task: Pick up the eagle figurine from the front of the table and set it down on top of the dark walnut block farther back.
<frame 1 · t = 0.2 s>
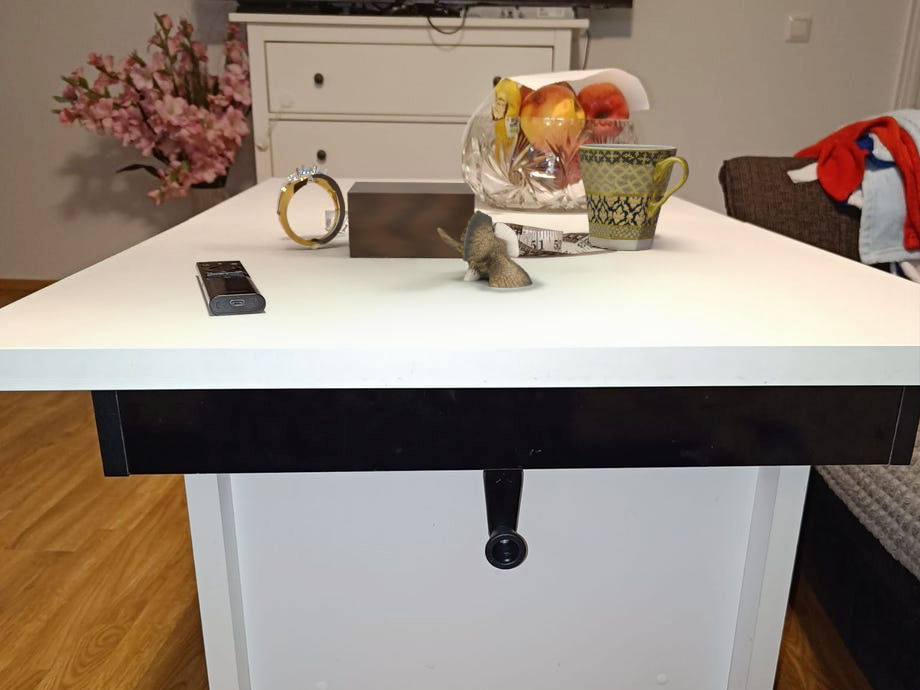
ring: (313, 250, 94), on the table
eagle figurine: (486, 296, 73), on the table
walnut block: (412, 248, 95), on the table
ceramic cup: (631, 249, 98), on the table
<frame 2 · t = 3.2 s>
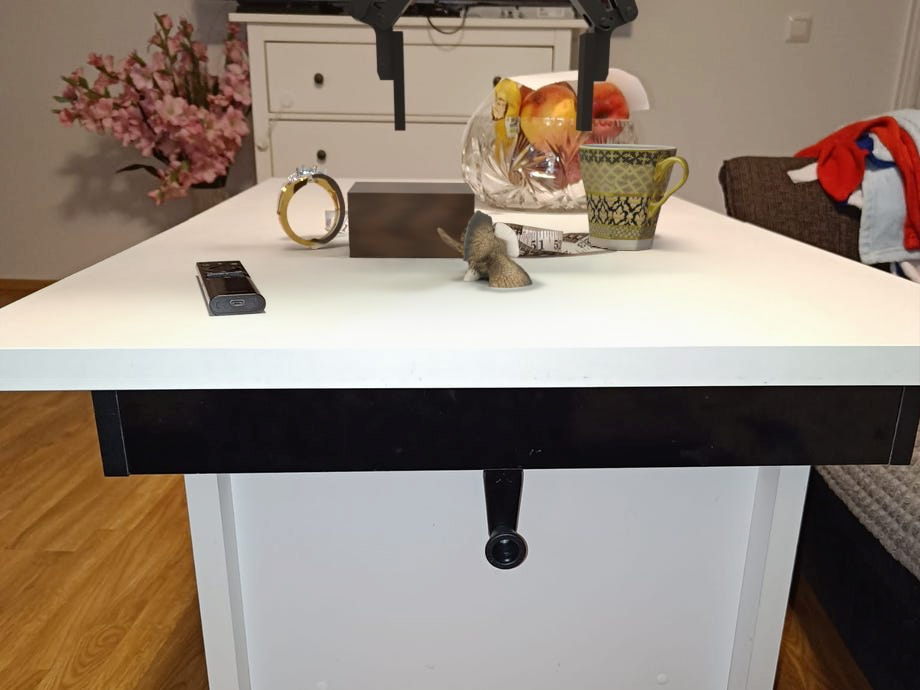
hand: (492, 131, 69), 12 cm above the table, tool pointing down, fingers open, 13 cm apart
nothing on the table moved.
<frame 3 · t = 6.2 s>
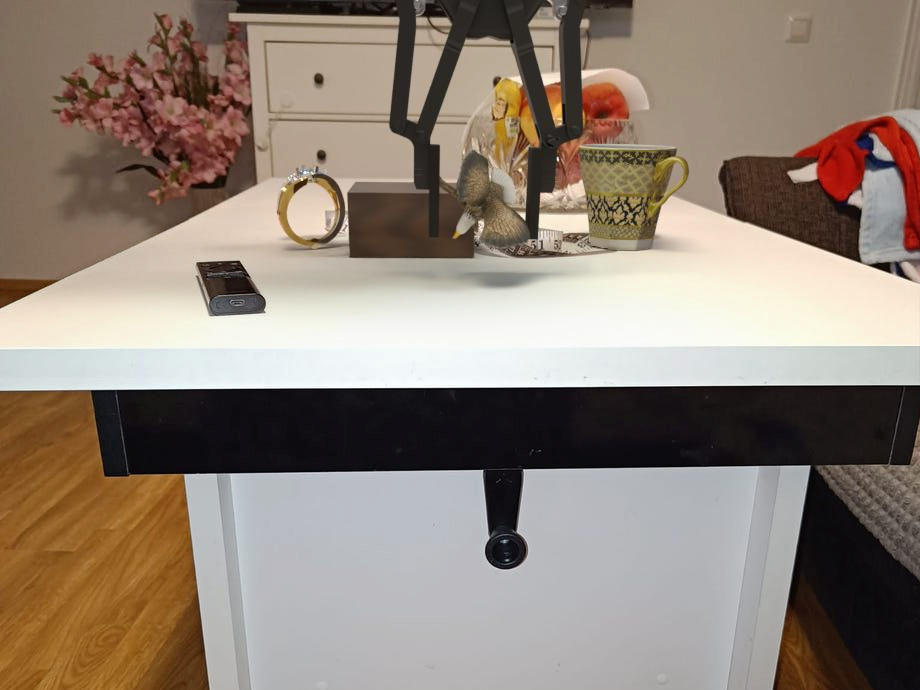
hand: (482, 235, 72), 5 cm above the table, tool pointing down, fingers closed on eagle figurine, 7 cm apart
eagle figurine: (481, 242, 72), point 4 cm above the table, touching gripper
everything else where it was.
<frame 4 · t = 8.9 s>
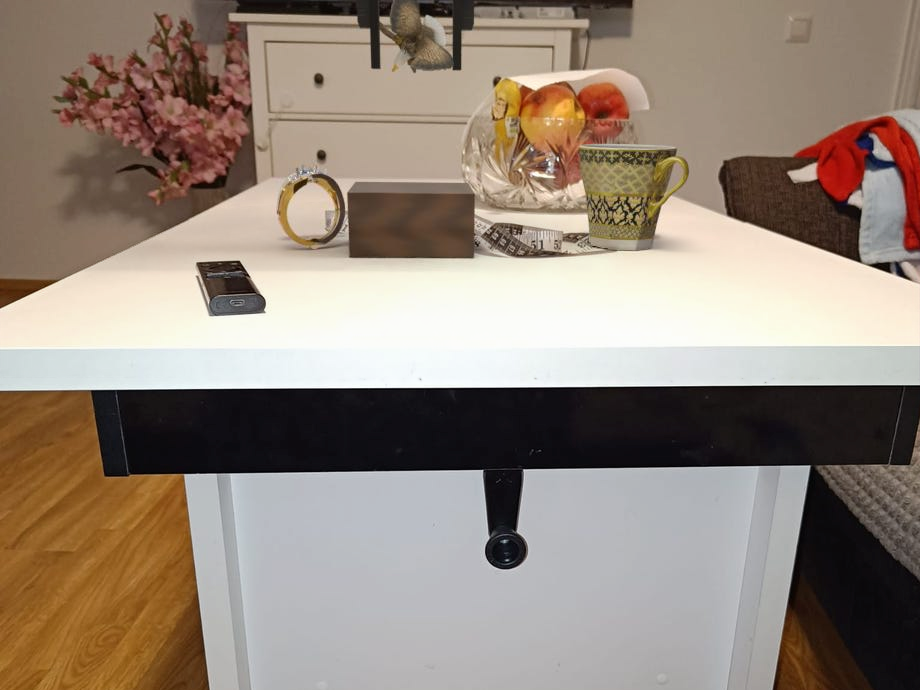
hand: (416, 68, 87), 17 cm above the table, tool pointing down, fingers closed on eagle figurine, 7 cm apart
eagle figurine: (415, 74, 87), point 16 cm above the table, touching gripper
everything else where it was.
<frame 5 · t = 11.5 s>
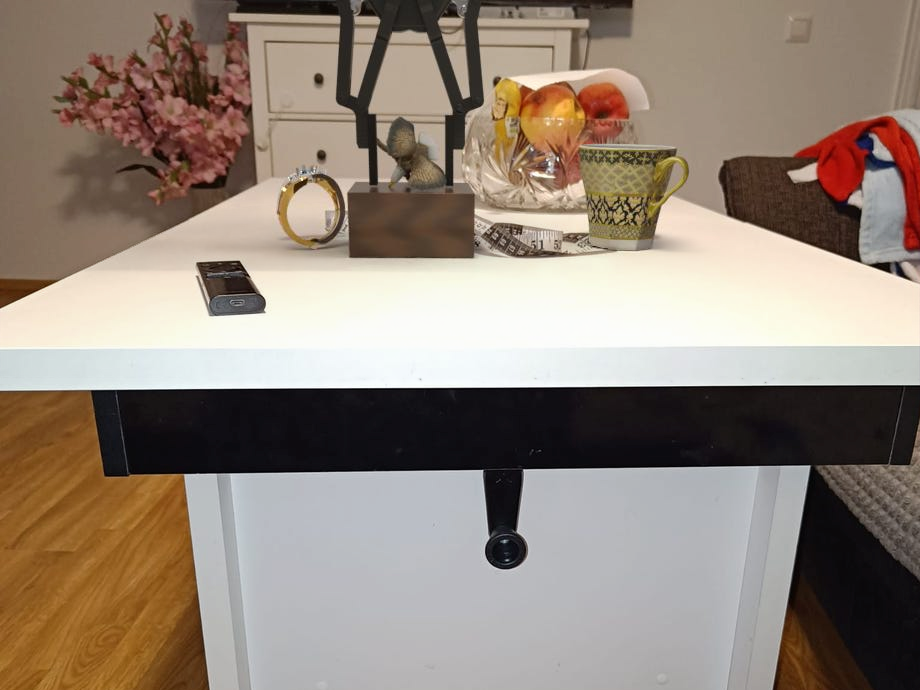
hand: (411, 184, 93), 6 cm above the table, tool pointing down, fingers closed on eagle figurine, 7 cm apart
eagle figurine: (410, 189, 93), point 6 cm above the table, touching gripper, walnut block
everything else where it was.
when the fingers open (6 cm above the table, at t = 11.6 s): eagle figurine stays where it is, resting on walnut block.
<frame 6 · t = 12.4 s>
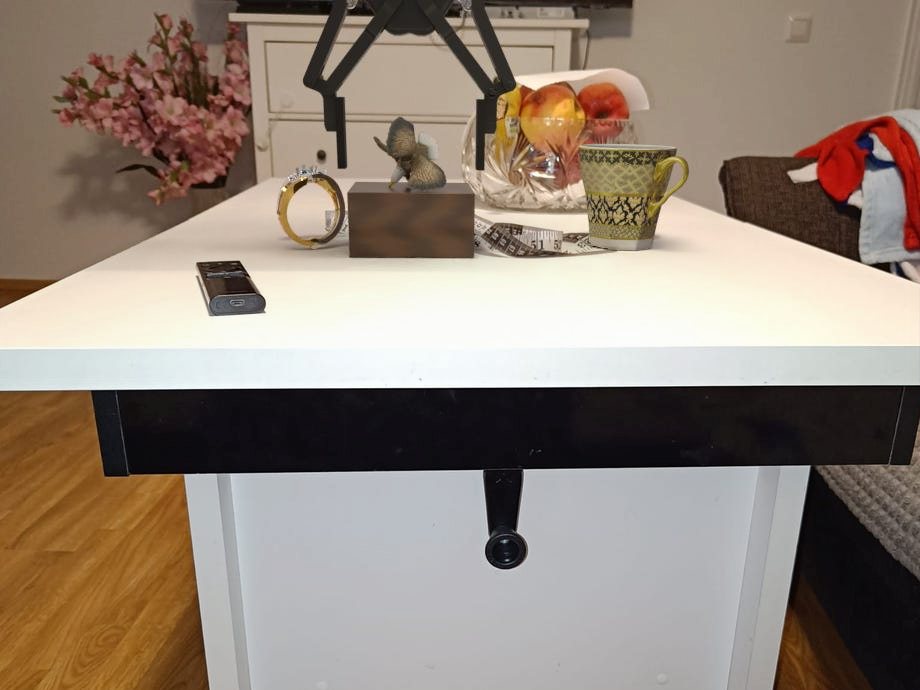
hand: (411, 169, 92), 8 cm above the table, tool pointing down, fingers open, 13 cm apart
eagle figurine: (410, 189, 93), point 6 cm above the table, touching walnut block
everything else where it was.
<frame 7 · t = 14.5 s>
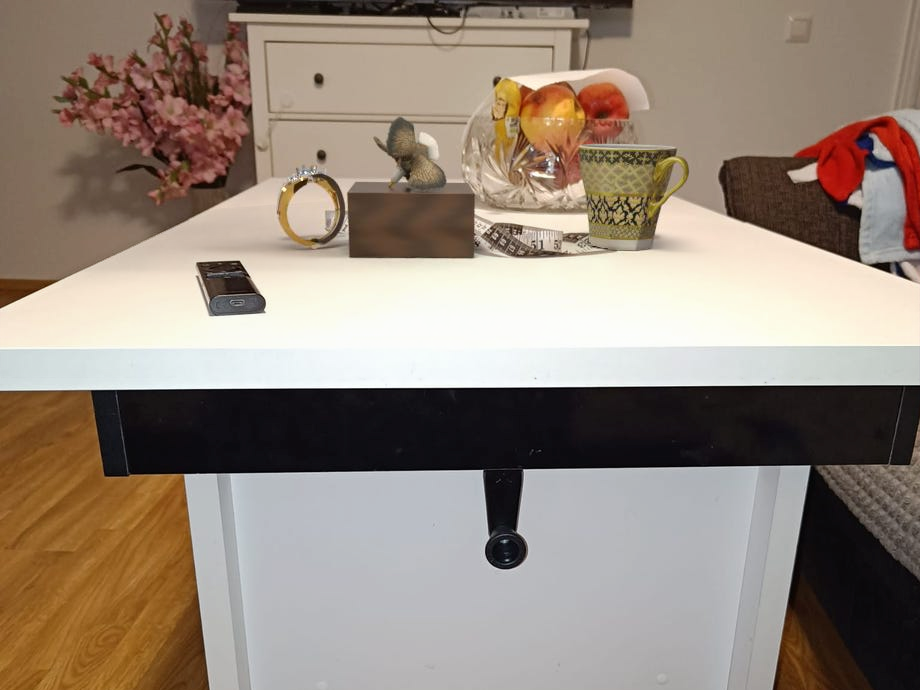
nothing on the table moved.
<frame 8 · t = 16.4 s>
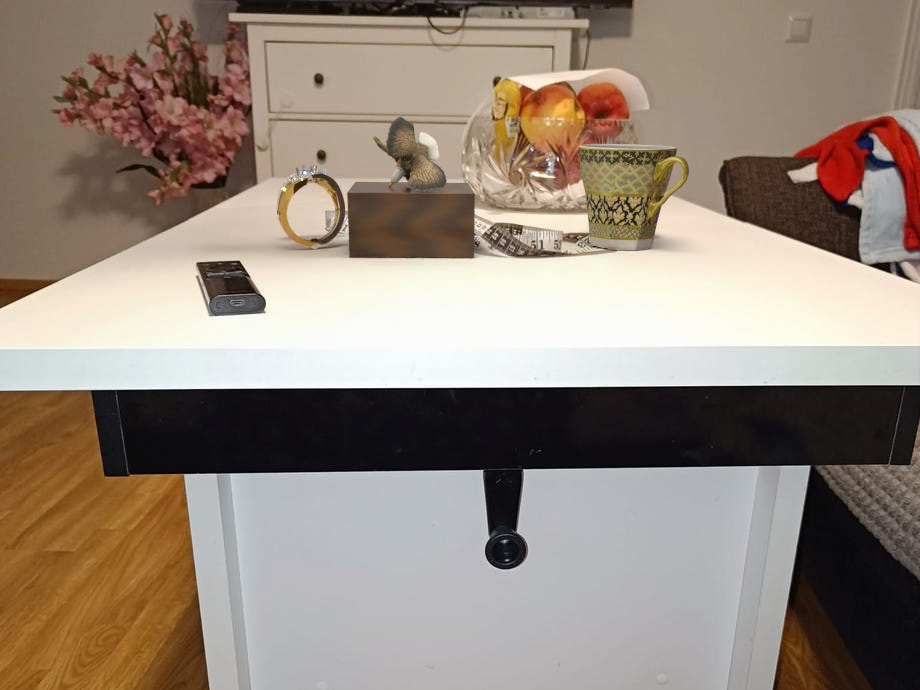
nothing on the table moved.
at the end: eagle figurine inside the target area on the walnut block (0.1 cm from its centre), point 5.8 cm above the walnut block's base; eagle figurine tilted 1°; the gripper is holding nothing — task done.
